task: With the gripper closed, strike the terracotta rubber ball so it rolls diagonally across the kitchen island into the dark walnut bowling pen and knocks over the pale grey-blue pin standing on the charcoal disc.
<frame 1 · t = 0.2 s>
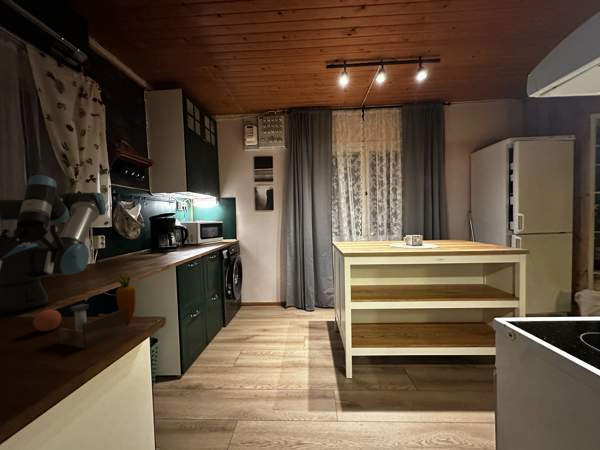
hand: (20, 276, 83), 16 cm above the counter, tool tilted 30°, fingers open, 13 cm apart
pin disc: (82, 335, 76), on the counter
ball: (47, 320, 80), on the counter
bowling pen: (82, 335, 76), on the counter
carrot: (128, 324, 82), on the counter
pin: (82, 335, 76), on the counter
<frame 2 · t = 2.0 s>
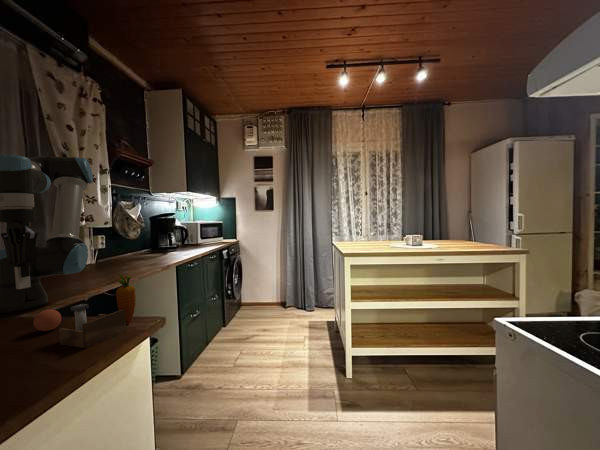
hand: (23, 287, 83), 12 cm above the counter, tool pointing down, fingers closed
nothing on the counter moved.
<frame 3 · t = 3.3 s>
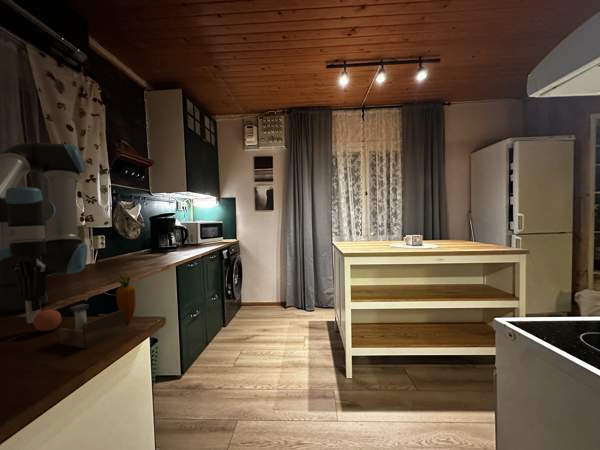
hand: (34, 321, 81), 3 cm above the counter, tool pointing down, fingers closed
nothing on the counter moved.
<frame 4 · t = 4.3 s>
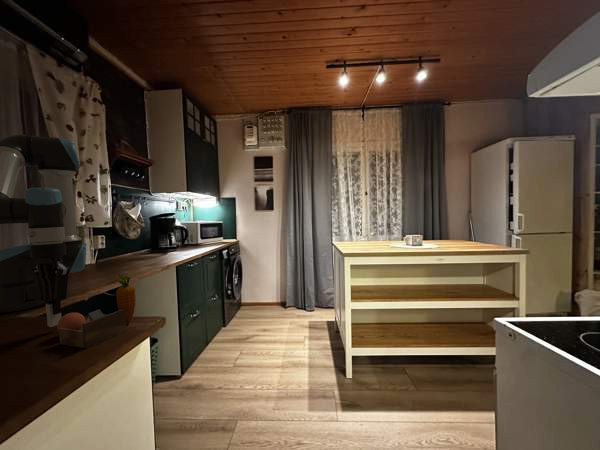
hand: (54, 324, 79), 2 cm above the counter, tool pointing down, fingers closed
ball: (71, 323, 77), on the counter
pin: (83, 332, 76), point 1 cm above the counter, tilted 50°
everything else where it was.
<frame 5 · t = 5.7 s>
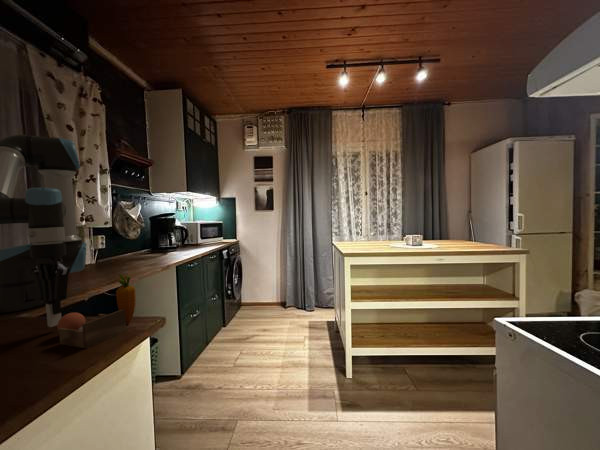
hand: (55, 324, 79), 2 cm above the counter, tool pointing down, fingers closed
pin: (81, 331, 75), point 1 cm above the counter, tilted 89°
everything else where it was.
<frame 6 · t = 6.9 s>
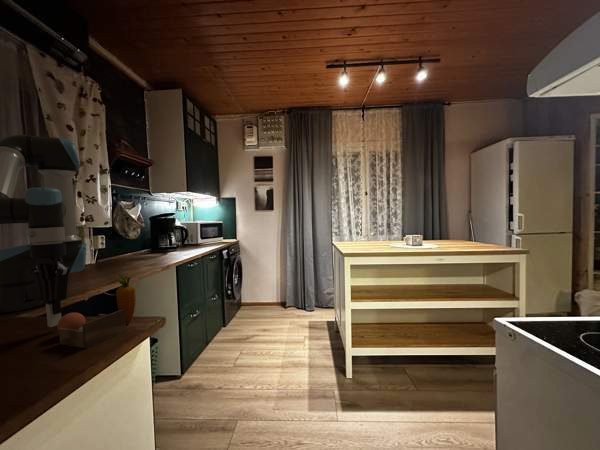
hand: (55, 324, 79), 2 cm above the counter, tool pointing down, fingers closed
nothing on the counter moved.
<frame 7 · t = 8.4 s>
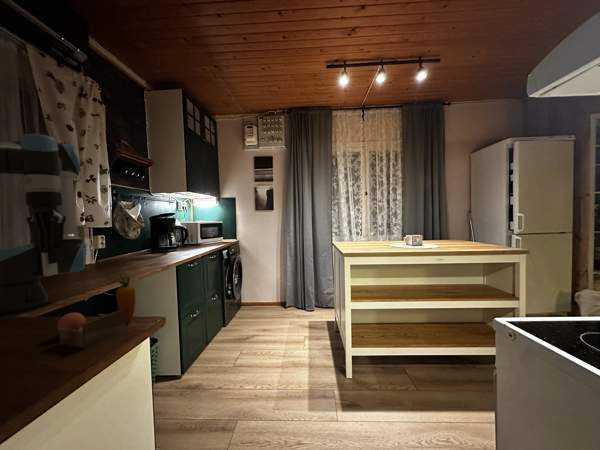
hand: (50, 274, 79), 16 cm above the counter, tool pointing down, fingers closed
nothing on the counter moved.
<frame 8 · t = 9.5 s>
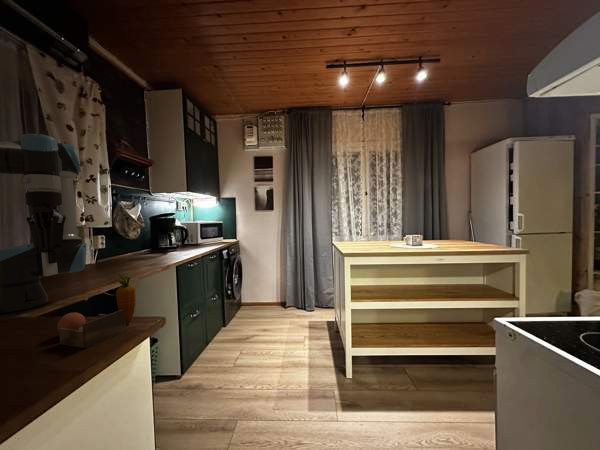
hand: (50, 274, 79), 16 cm above the counter, tool pointing down, fingers closed
nothing on the counter moved.
at the end: pin tilted 89°; pin never touched the robot; ball moved 10.7 cm from its start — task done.
